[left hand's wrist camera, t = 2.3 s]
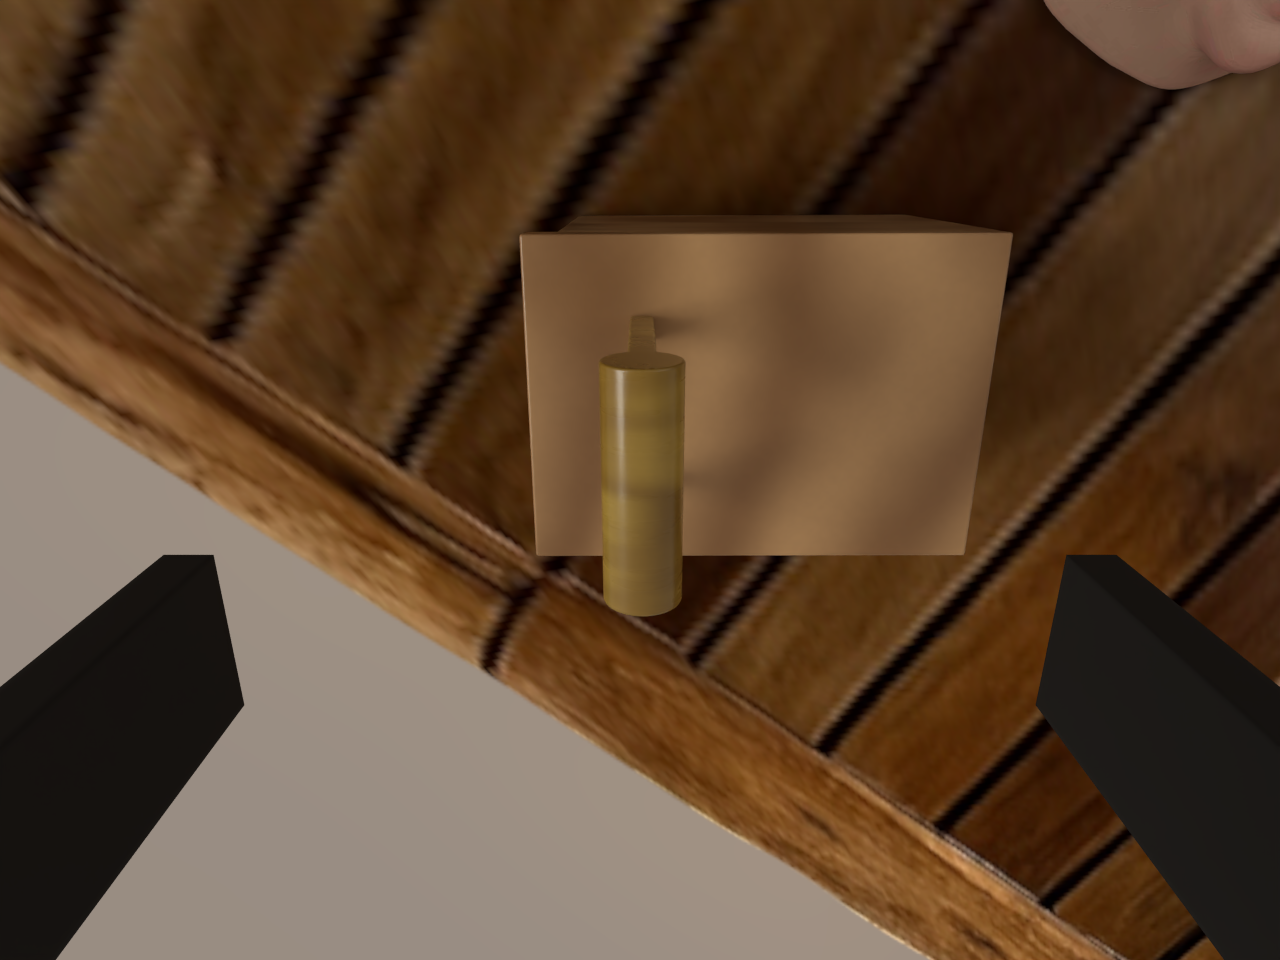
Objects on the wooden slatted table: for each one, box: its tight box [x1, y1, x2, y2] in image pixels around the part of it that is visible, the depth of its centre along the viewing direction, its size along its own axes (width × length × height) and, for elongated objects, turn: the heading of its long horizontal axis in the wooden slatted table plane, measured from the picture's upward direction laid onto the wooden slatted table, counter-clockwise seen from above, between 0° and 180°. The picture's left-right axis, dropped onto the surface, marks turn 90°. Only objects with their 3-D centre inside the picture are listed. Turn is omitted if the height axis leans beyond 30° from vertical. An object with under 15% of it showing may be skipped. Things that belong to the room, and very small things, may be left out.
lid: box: [519, 231, 1013, 616], centre depth 22 cm, size 14×10×8 cm
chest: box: [559, 215, 999, 232], centre depth 30 cm, size 13×10×9 cm
